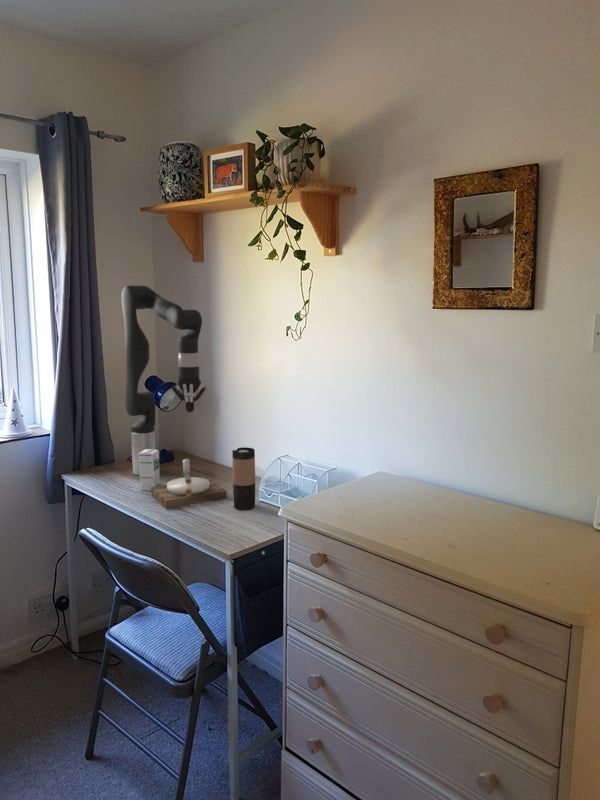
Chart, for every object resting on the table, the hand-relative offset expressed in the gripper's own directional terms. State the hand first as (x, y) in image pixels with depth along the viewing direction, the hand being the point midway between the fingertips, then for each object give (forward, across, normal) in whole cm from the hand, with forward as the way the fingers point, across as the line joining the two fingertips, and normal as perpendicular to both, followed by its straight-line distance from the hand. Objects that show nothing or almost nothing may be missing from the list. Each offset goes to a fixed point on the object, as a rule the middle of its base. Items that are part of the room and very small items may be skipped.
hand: (190, 411), depth 236 cm
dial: (+26, -1, +9) cm, 27 cm away
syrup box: (+29, +16, +2) cm, 33 cm away
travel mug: (+29, -23, +20) cm, 43 cm away
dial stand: (+29, -2, +11) cm, 31 cm away
